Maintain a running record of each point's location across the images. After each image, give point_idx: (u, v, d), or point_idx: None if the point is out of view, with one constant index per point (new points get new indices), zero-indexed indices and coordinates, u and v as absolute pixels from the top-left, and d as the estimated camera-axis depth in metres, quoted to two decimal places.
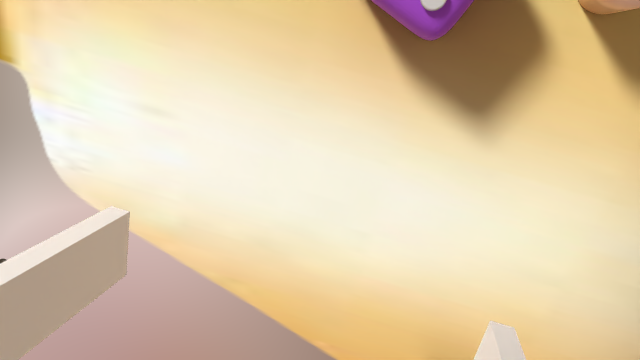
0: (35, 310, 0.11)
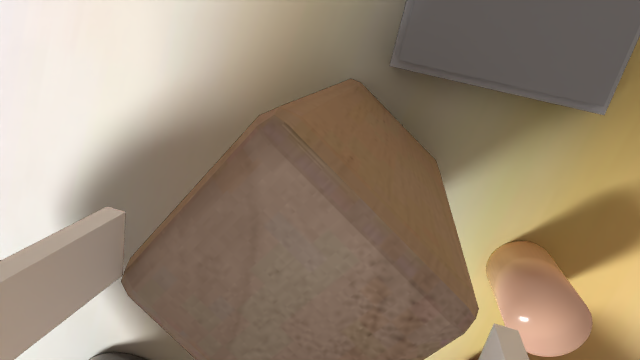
0: (29, 311, 0.11)
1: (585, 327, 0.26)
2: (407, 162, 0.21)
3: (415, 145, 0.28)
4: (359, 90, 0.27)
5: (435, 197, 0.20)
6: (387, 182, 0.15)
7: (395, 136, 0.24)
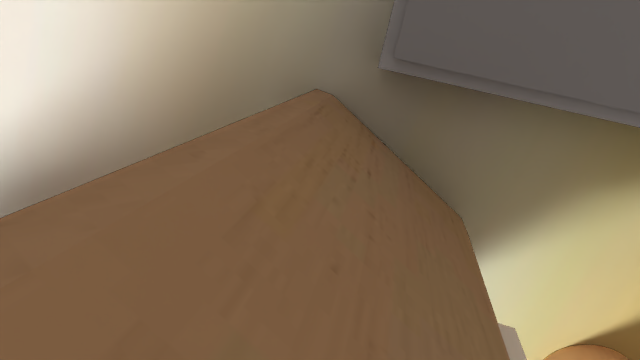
0: None
1: None
2: (418, 289, 0.09)
3: (428, 203, 0.16)
4: (324, 113, 0.15)
5: None
6: None
7: (391, 205, 0.12)
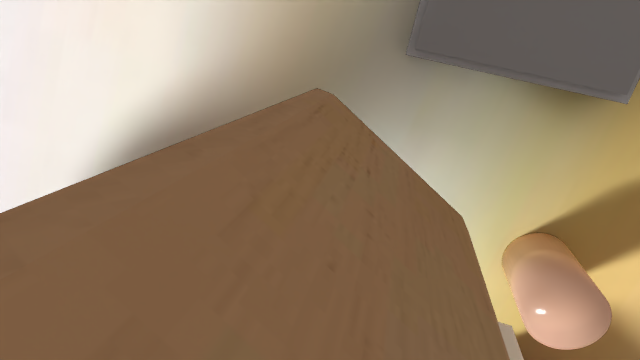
0: None
1: (604, 320, 0.25)
2: (417, 287, 0.09)
3: (428, 202, 0.16)
4: (323, 111, 0.15)
5: None
6: None
7: (390, 204, 0.12)
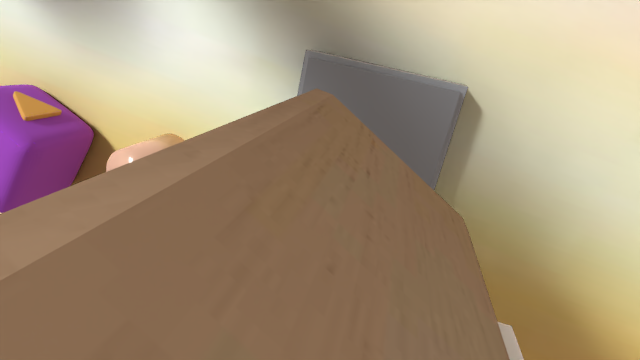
0: None
1: None
2: (417, 289, 0.09)
3: (428, 202, 0.16)
4: (323, 112, 0.15)
5: None
6: None
7: (390, 205, 0.12)
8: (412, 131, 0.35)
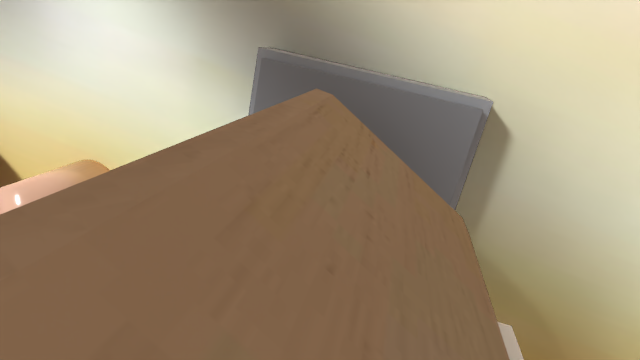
0: None
1: None
2: (416, 289, 0.09)
3: (428, 202, 0.16)
4: (323, 112, 0.15)
5: None
6: None
7: (390, 205, 0.12)
8: (411, 165, 0.24)
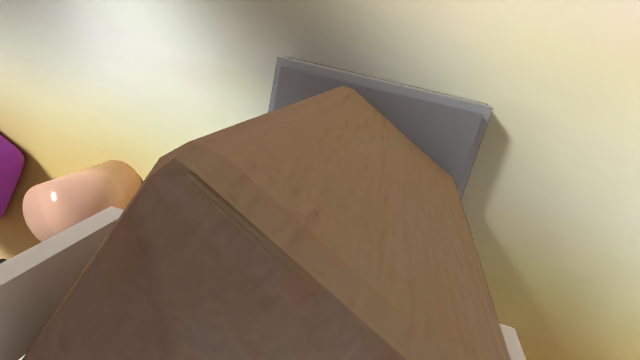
0: (35, 310, 0.11)
1: None
2: (413, 192, 0.16)
3: (425, 162, 0.23)
4: (350, 99, 0.21)
5: (454, 239, 0.15)
6: (379, 240, 0.10)
7: (397, 155, 0.19)
8: None
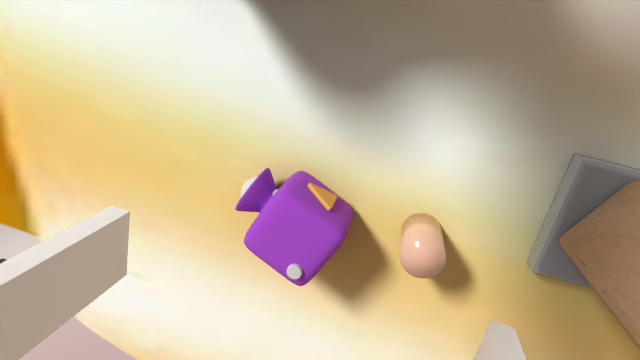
0: (35, 310, 0.11)
1: (422, 275, 0.46)
2: None
3: None
4: None
5: None
6: None
7: None
8: None
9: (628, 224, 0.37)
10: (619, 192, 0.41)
